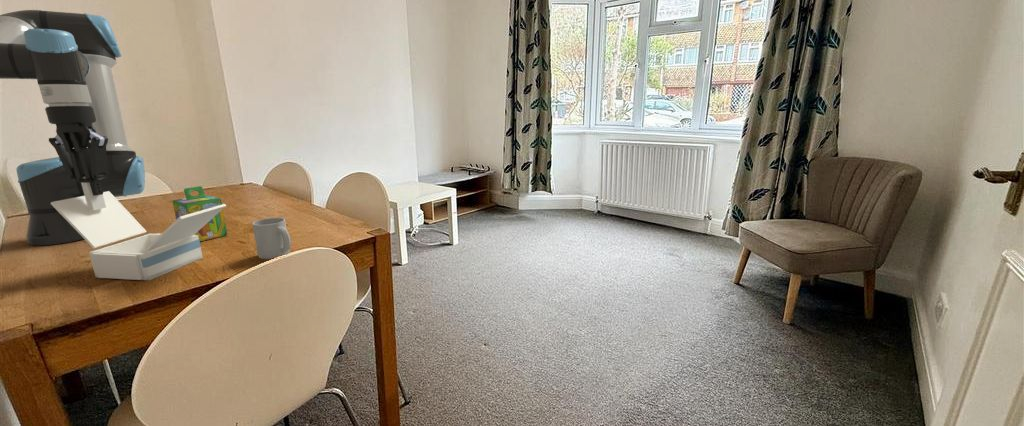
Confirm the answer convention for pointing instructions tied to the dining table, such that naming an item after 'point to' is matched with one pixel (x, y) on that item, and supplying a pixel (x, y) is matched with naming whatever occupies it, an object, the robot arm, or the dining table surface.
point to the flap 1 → (99, 220)
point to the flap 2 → (185, 226)
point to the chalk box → (198, 203)
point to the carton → (144, 258)
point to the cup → (271, 237)
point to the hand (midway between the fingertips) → (97, 208)
